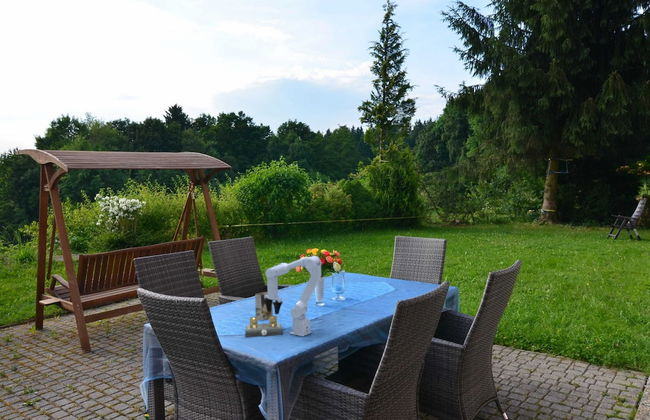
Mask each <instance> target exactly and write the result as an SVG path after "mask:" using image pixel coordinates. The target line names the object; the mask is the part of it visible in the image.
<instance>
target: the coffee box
mask: <svg viewBox="0 0 650 420" xmlns="http://www.w3.org/2000/svg"><path fill="white" fill-rule="evenodd" d="M264 295H268V291H262V292H259V293H258V292H257V293H255V295H254V296H255V297H254V298H255V300H254V301H255V307H254V308H255V317H258V321H259V322H260V321H262V322H263V321H267V320H269V316H274V313H273V312H274V311H273V310H274V305H273V303H272V310H271V311H270V312H268V311H267V307H266V305H265V302H264V301H263V300H264V299H266V298H264Z"/></svg>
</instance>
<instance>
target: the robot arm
mask: <svg viewBox="0 0 650 420" xmlns="http://www.w3.org/2000/svg"><path fill="white" fill-rule="evenodd" d="M298 267H302V268H305V269H306V270H307V272H308V273H309V275H310V277H309V279H308V280H307V283H306V285H305V287H304V289H303V292H302V293H301V296H300V298H299V300H298V301H297V302H296V304H295V305H294V306H293V307H292V308H291V309H290V316H291V317H292V331H290V332H289V335H295V336H299V337H304V336H308V335H309V334H311V333H312V331H311V320H310V319H309V318H307V317H306V313H307V312H308V306H309V302H310V299H311V298H312V295H313V293H314V292H315V289H316V287H317V285H318V283H319V281H320V279H321V277H322V261H321V259H320V257H319V256H317V255H312V256H308V257H303V258H299V259H297V260H294V261H292V262H290V263H287V262H281V263H279V264H278V265H273V267H269V268H267V269H266V270H265V273H264V274H265V277H266V282H267V284H266V285H267V292H268V295H264V298H266V299H264V300H263V301H264V302H265V305H266V307H267V311H268V312H270V311H271V310H272V303H273V310H274V315H279V314H280V310H281V307H282V304H283V301H282V298H281V297H280V295H279V291H278V289H279V287H278V286H279V285H278V277H280V276H282V275H286V274H288V273H289V272H290V270H292V269H295V268H298Z"/></svg>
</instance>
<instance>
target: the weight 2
mask: <svg viewBox="0 0 650 420" xmlns="http://www.w3.org/2000/svg"><path fill="white" fill-rule="evenodd" d="M268 323H269V326H277V323H278V316H277V315H273V316H269V319H268Z"/></svg>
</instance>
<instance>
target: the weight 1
mask: <svg viewBox="0 0 650 420" xmlns="http://www.w3.org/2000/svg"><path fill="white" fill-rule="evenodd" d="M258 324H259V320H258V317H256V316H251V317H249V325H250V327H251V328H255V327H258Z"/></svg>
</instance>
